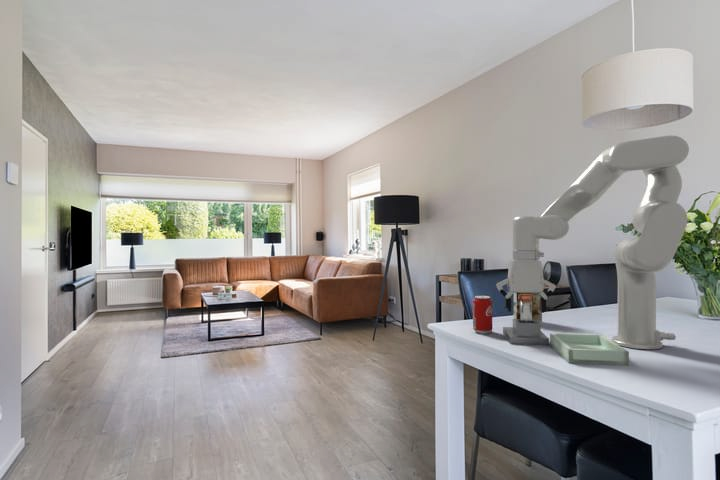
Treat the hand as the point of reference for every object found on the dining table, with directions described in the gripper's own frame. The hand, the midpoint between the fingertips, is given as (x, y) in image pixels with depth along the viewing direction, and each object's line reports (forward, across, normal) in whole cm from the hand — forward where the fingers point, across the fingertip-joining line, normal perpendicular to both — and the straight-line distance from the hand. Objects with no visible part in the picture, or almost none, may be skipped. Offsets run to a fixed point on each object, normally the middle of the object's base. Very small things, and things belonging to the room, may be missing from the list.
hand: (525, 311), depth 130 cm
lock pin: (+7, 0, 0) cm, 7 cm away
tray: (+9, -13, +13) cm, 21 cm away
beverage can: (+9, +12, -10) cm, 18 cm away
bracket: (+9, 0, -3) cm, 9 cm away
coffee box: (+9, -6, -28) cm, 30 cm away
